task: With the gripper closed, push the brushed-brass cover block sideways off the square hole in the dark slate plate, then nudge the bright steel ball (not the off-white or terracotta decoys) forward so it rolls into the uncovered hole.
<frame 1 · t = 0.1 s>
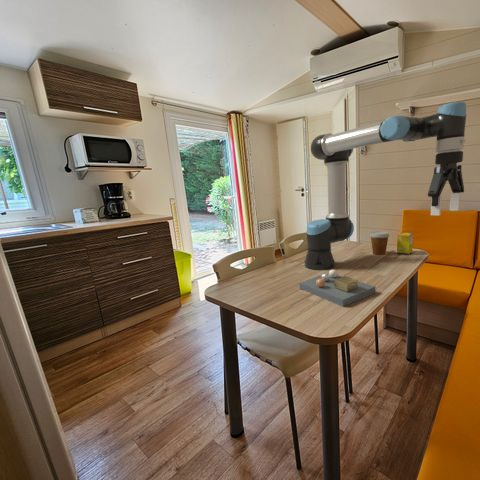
hand: (445, 212, 95), 28 cm above the table, fingers open, 13 cm apart
supplement box: (404, 253, 145), on the table
slate plate: (335, 290, 105), on the table
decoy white: (333, 273, 112), point 4 cm above the table, touching slate plate
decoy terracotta: (320, 282, 103), point 4 cm above the table, touching slate plate
disposable coffee cup: (379, 254, 148), on the table
brass cover: (345, 283, 100), point 4 cm above the table, slide at 0.0 cm
steel ball: (325, 277, 108), point 4 cm above the table, touching slate plate
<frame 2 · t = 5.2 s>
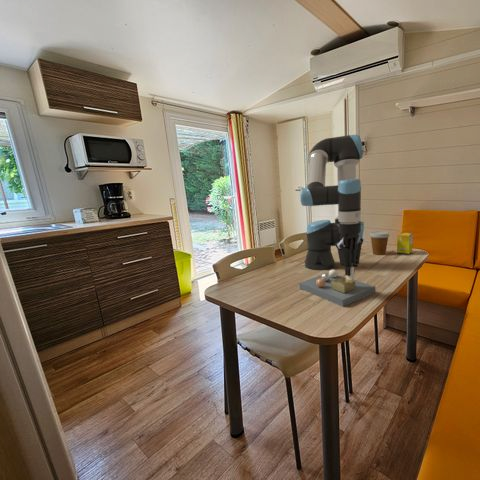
hand: (350, 283, 101), 4 cm above the table, fingers closed
brass cover: (343, 284, 99), point 4 cm above the table, slide at 1.5 cm, touching gripper
everything else where it was.
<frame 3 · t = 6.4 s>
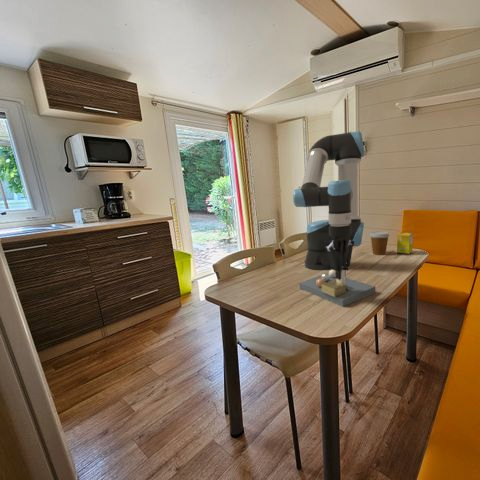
hand: (340, 286, 98), 4 cm above the table, fingers closed
brass cover: (333, 288, 97), point 4 cm above the table, slide at 6.6 cm, touching gripper
everything else where it was.
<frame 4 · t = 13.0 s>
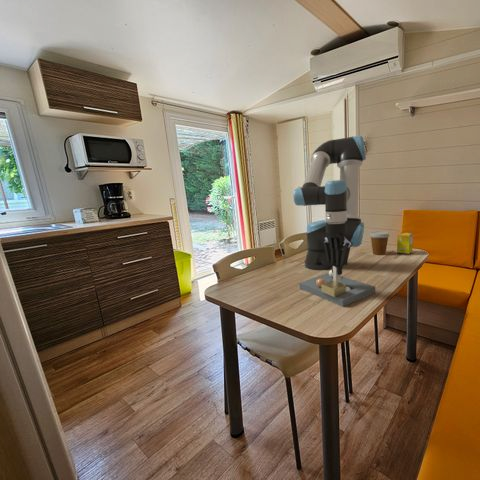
hand: (337, 281, 103), 4 cm above the table, fingers closed
brass cover: (333, 288, 97), point 4 cm above the table, slide at 6.7 cm
steel ball: (346, 290, 99), point 2 cm above the table, tilted 38°
everything else where it was.
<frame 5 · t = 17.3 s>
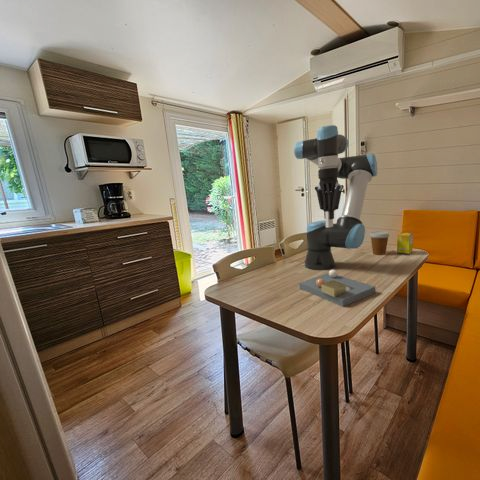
hand: (329, 226, 108), 24 cm above the table, fingers closed
steel ball: (346, 290, 100), point 2 cm above the table, tilted 33°
everything else where it was.
at the end: steel ball 0.6 cm from the target spot on the slate plate, point 1.7 cm above the slate plate's base; brass cover slide at 6.7 cm; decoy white moved 0.1 cm from its start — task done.
